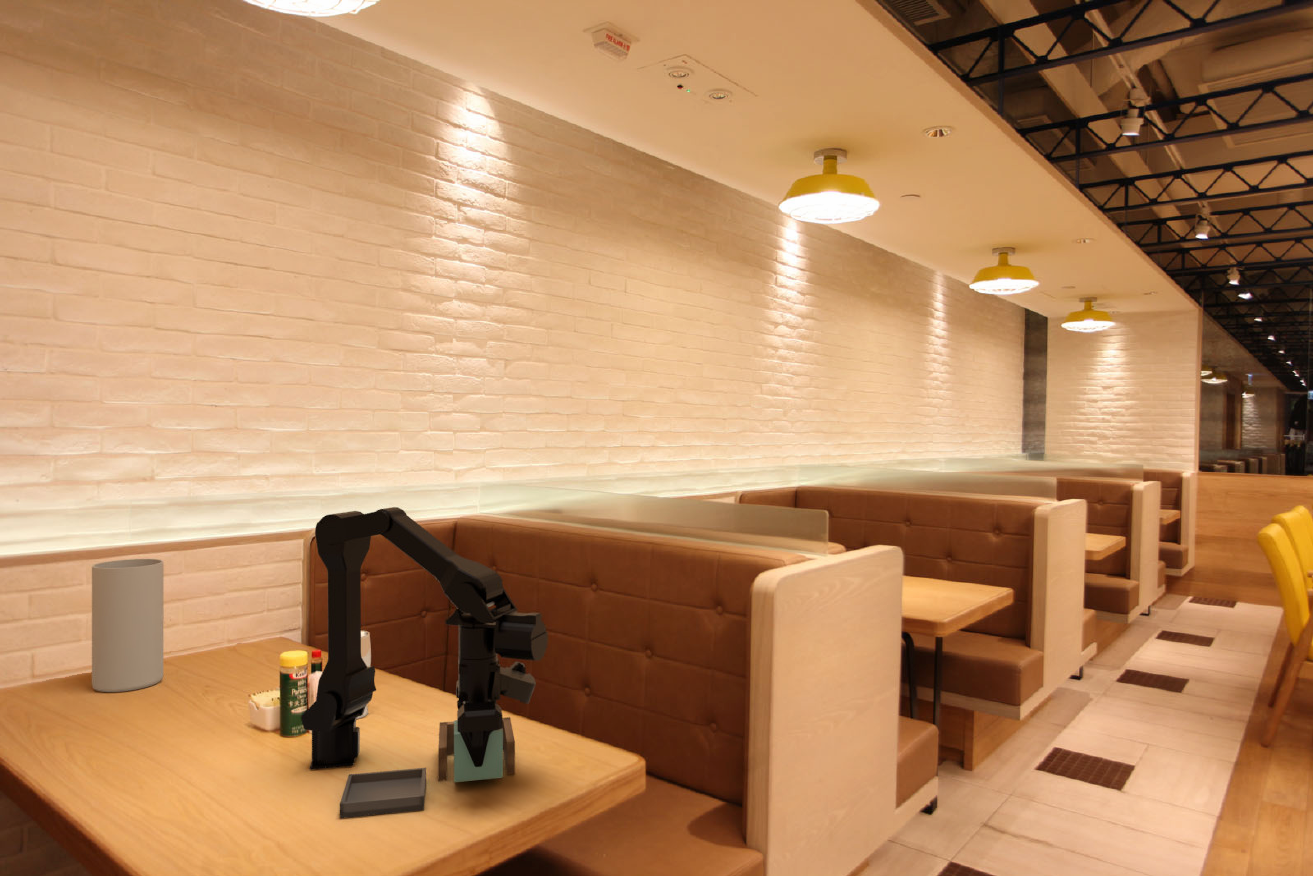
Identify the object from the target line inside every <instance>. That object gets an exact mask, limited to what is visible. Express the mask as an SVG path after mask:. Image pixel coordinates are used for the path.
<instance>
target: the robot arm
mask: <svg viewBox="0 0 1313 876" xmlns="http://www.w3.org/2000/svg"><path fill="white" fill-rule="evenodd" d="M314 529H315V530H314V536H315V542H316V550H317V554H318V556H319V558H320V560H321V562H322V563H323V564H324V566H325V568H326V570H327V572H326V573H327V653H328V654H327V660H326V661H327V662H326V664H325V666H324V668H323V670H322V672H321V674H320V676H319V679H318V684H317V690H316V695H315V701H314V702H313V703H312V704H311V705H310V706H309V708H307V710H305V711H304V713H303V714H301V716H300V719H301V723H302V727H303V729H304V730H306V731H311V762H310V764H309V766H308V767H309V768H308V769H309V770H321V769H323V770H324V769H334V768H346V767H352V766H354V765H355V761H356V760H357V759H358V757H359V754H360V752H361V751H360V749H361V748H360V746H361V745H360V740H361V739H360V738H361V737H360V736H361V735H360V732H361V731H360V730H361V729H360V727H359V726H357V719H356V717H358V716H361V715H363V713H364V710H365V707H366V705H367V706H368V705H369V703H370V702H371V701H372V700H373V699H372V698H373V694H374V692H376V691H377V687H376V684H375V676H376V667H375V666H373V665H370V667H367V666H366V664H365V662H364V661H363V659H362V657H361V630H362V628H361V627H362V619H361V617H362V616H361V615H362V613H361V612H362V611H361V610H362V607H361V606H362V605H361V603H362V602H361V600H362V599H361V597H362V596H361V594H362V593H361V591H362V590H361V589H362V587H361V581H362V580H361V575H362V574H361V573H362V572H361V569H362V565H363V563H364V561H365V559H366V557H367V554H368V552H369V551H370V545H371V540H372V537H373V536H379V535H380V536H382V537H384V538H385V539H386V540H387V541H388V542H390V543H391V544H392V545H393V546H395V547H396V548H398V550H400V551H401V552H402V553H404V554H405V555H406V556H408V557H409V558H410V559H411V560H412V561H414V562H415V563H416V564H417V565H419V566H420V567H421V568H423V569H424V570H425V571H426V572H428V573H429V574H430V575H432V577H434V578H435V580H437V582H439V584H440V587H441V589H442V591H443V594H444V595H445V596H446V597H447V599H448V600H449V601H450V602H451V603H452V604H453V606H455V607H456V608H455V609H454V612H453V613H452V614H451V615H450V616H449V617H448V618H446V619H445V621H444V623H445V624H446V626H447V625H449V626H457V627H458V658H457V659H458V660H457V661H458V663H457V664H458V667H457V668H458V680H457V681H456V682H455V683H456V690H455V692H456V693H455V694H456V697H455V698H456V699H457V701H456V707H457V710H456V713H457V714H456V716H457V717H456V719H457V732H460V734H461V736H462V738H463V741H464V743H465V745H466V747H467V750H468V752H469V754H470V757H471V759H472V761H473V764H474V766H475V767H481V766H482V765H483V761H484V757H485V752H486V748H487V744H488V739H489V735H490V734H491V733H492V732H493V731H494V730H499V729H502V718H503V711H502V707H500V705H499V704H497V701H500V700H501V695H502V697H506V698H508V699H509V698H510V699H513V700H517V701H519V702H520V703H523V704H529V703H530V701H531V698H532V695H533V692H534V690H535V687H536V679H535V677H534V676H533V675H531V673H529V672H528V673H527V671H526V666H525V663H523V662H520V661H517V660H522V661H524V660H525V661H534V662H538V661H541V660H542V658H544V655H545V653H546V651H547V648H548V643H549V642H548V641H549V639H548V638H549V633H548V631H547V627H546V625H545V622H544V621H542V613H540V612H529V613H525V612H518V608H517V606H516V605H515V603H514V601H513V599H511V597H510V596H509V593H508V592H507V591H506V589H505V588H504V584H503V582H504V581H503V578H502V577H501V575H500V574H499V573H498V572H497V571H495V570H493V569H492V568H490V567H488V566H486V565H484V564H482V563H480V562H478V561H475V560H471V559H470V558H469V559H468V558H466V557H463V556H461V555H460V554H457V553H456V552H455V551H453V549H451V548H449V547H448V546H447V545H446V544H444V543H443V542H442V541H441V540H440V539H438V538H437V537H436V536H434V535H433V534H432V533H430V532H429V531H427V529H425V528H424V527H423V526H421V525H420V524H419V523H417V522H416V521H415V520H414V519H412V518H411V517H410V516H408V514H407V512H406V511H405V510H403V509H402V508H400V507H396V506H393V507H386V508H380V509H377V510H376V511H372V512H368V513H367V512H366V513H363V512H361V511H357V510H352V511H345V512H344V511H343V512H338V513H331V514H326V515H324V516H323V517H321V518H320V520H319V521H318V522H316V524H315V528H314ZM492 606H495V607H493V608H491V609H490V608H489V607H492ZM498 655H499V657H500V658H504V659H512V660H513V659H514V660H515V662H513V663H512V664H511V665H510V666H505V667H503V666H501V664H500V659H499V658H498Z"/></svg>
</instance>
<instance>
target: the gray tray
mask: <svg viewBox="0 0 1313 876" xmlns="http://www.w3.org/2000/svg"><path fill="white" fill-rule="evenodd" d="M426 785H427V767H418V768H417V767H416V768H407V769H405V768H404V769H396V770H395V769H394V770H393V769H392V770H384V771H372V772H361V773H360V772H359V773H349V774H348V775H347V779H346V783H345V786H344V790H343V793H342V796H341V799H340V803H339V819H341V820H342V819H350V818H359V817H371V816H380V815H381V816H382V815H390V814H391V815H392V814H401V813H410V812H420V811H421V812H422V811H424V810H425V809H424V808H425V800H426V799H425V798H426V788H425V787H426Z"/></svg>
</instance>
